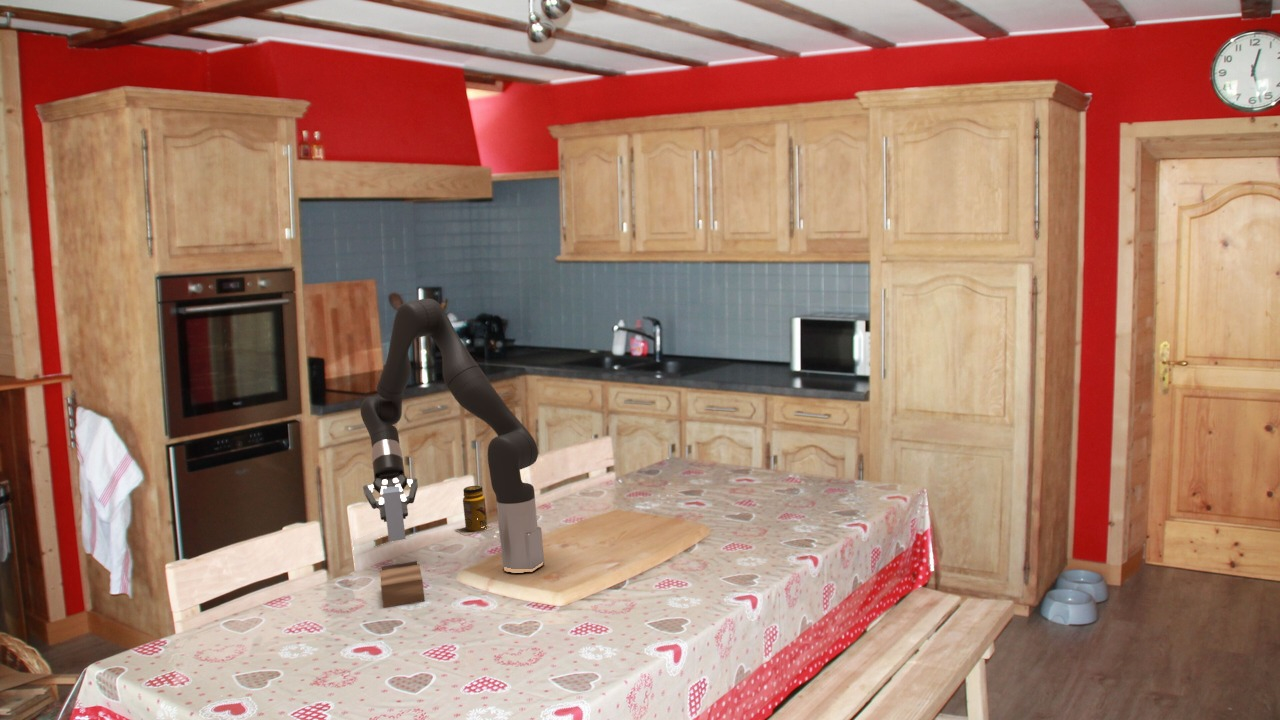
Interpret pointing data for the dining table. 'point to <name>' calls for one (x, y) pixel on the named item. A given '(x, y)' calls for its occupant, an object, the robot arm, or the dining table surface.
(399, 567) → the wooden grain block
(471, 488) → the condiment
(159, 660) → the dining table surface
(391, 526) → the tall grey pillar
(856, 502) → the dining table surface
